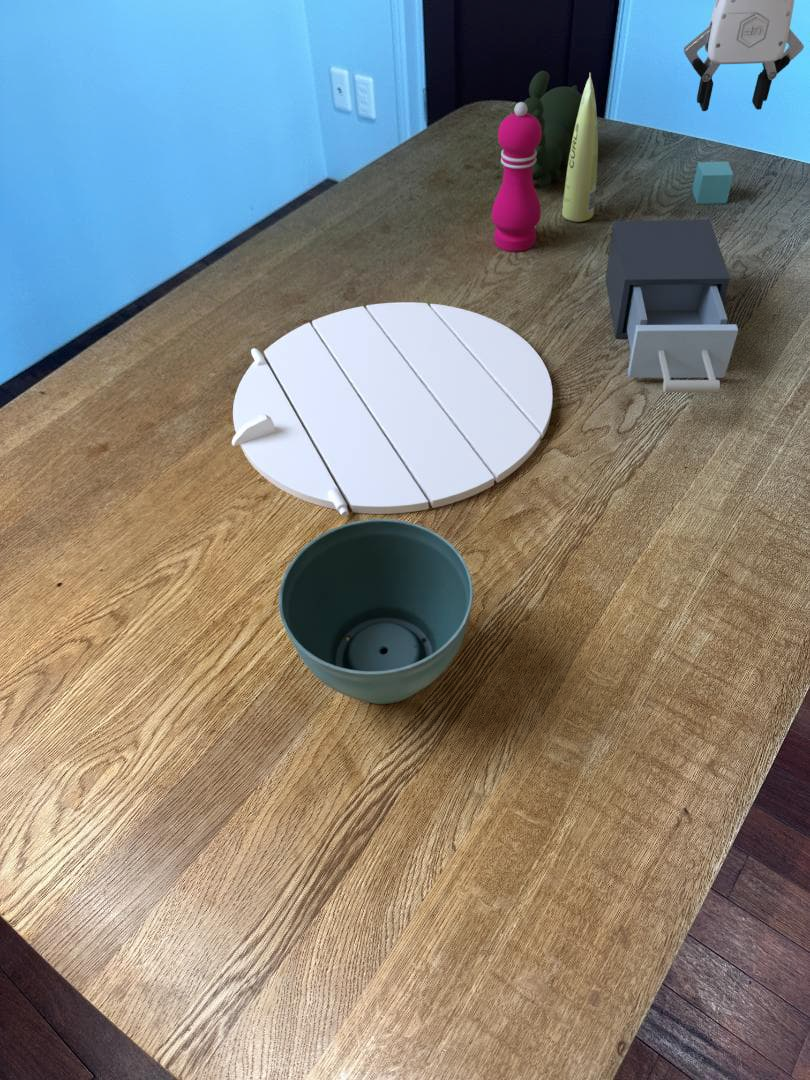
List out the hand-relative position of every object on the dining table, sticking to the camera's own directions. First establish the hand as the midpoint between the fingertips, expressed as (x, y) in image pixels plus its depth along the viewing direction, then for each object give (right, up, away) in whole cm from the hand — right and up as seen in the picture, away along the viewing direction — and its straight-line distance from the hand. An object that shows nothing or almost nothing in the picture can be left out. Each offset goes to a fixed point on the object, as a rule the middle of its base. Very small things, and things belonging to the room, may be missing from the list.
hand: (729, 105), depth 119 cm
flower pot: (-50, -75, -44) cm, 100 cm away
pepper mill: (-31, -18, +5) cm, 36 cm away
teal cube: (+1, -9, +10) cm, 14 cm away
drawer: (-15, -42, -18) cm, 48 cm away
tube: (-20, -13, +9) cm, 26 cm away
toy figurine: (-23, -1, +20) cm, 31 cm away
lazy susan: (-50, -47, -19) cm, 71 cm away
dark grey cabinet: (-13, -32, -9) cm, 36 cm away
